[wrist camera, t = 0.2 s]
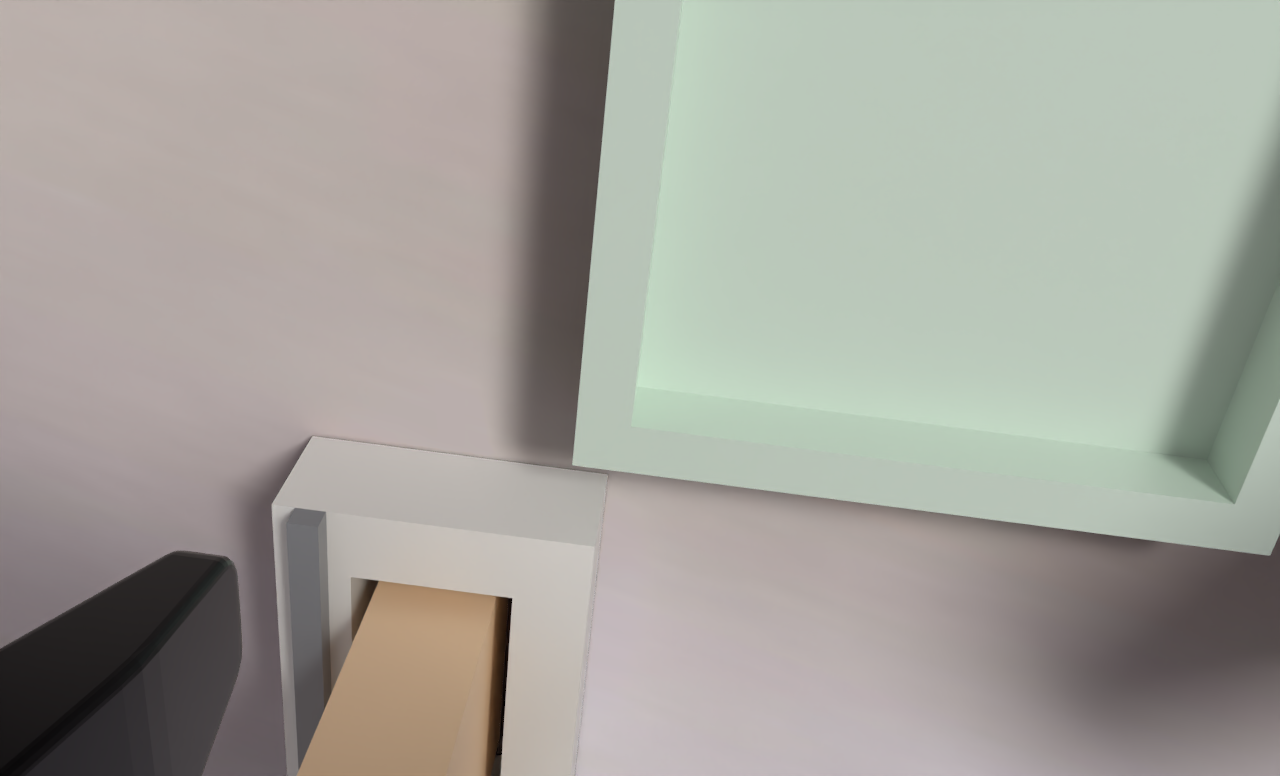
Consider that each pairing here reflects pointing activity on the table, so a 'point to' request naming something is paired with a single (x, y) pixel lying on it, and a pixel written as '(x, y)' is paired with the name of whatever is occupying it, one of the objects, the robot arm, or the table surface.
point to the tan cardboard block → (416, 688)
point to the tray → (946, 259)
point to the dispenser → (440, 576)
